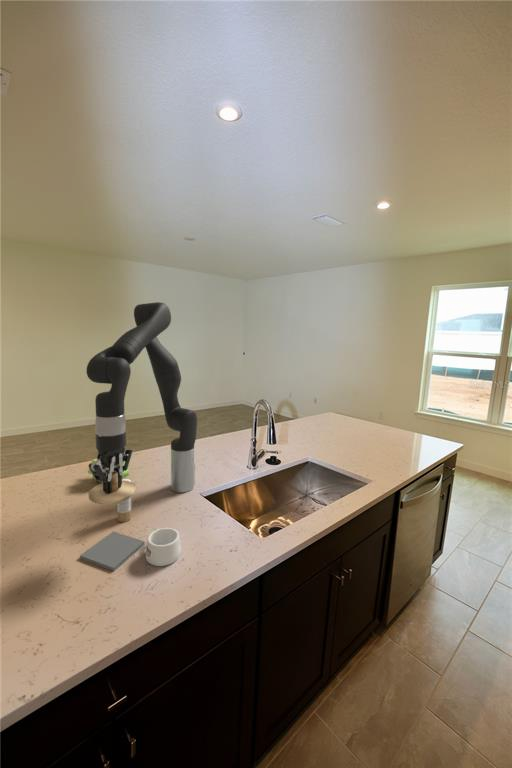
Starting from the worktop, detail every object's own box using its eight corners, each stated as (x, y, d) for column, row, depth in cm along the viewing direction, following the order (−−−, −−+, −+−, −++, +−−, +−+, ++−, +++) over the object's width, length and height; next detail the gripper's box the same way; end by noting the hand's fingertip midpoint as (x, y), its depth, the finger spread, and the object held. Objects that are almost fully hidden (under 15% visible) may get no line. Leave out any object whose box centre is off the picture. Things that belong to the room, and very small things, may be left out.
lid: (112, 479, 97) (112, 461, 96) (144, 487, 93) (144, 469, 92) (78, 498, 86) (77, 477, 85) (113, 508, 81) (112, 486, 81)
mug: (186, 558, 90) (186, 539, 89) (153, 573, 84) (153, 552, 83) (169, 536, 100) (169, 519, 99) (138, 548, 93) (137, 529, 93)
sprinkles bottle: (119, 515, 110) (118, 478, 108) (133, 514, 110) (132, 478, 108) (115, 522, 105) (114, 484, 103) (129, 522, 106) (128, 484, 104)
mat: (113, 534, 99) (113, 531, 99) (144, 544, 95) (144, 541, 95) (80, 558, 88) (79, 555, 88) (113, 571, 84) (113, 568, 84)
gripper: (119, 422, 94) (120, 477, 97) (78, 435, 81) (81, 498, 84) (139, 425, 91) (140, 482, 94) (100, 440, 78) (103, 505, 81)
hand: (112, 489), depth 89 cm, fingers closed on lid, 2 cm apart
